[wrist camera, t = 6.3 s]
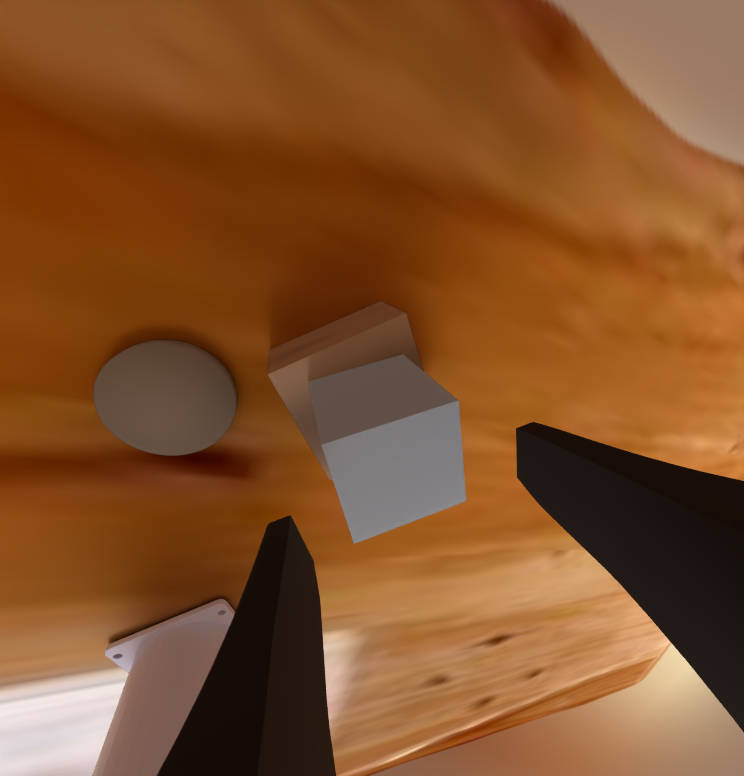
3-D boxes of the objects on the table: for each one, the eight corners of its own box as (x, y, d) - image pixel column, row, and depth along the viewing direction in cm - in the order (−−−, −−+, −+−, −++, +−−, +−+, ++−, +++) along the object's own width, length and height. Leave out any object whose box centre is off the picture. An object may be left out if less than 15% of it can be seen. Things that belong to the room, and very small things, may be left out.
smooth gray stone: (255, 422, 18) (253, 433, 17) (147, 457, 17) (138, 470, 16) (208, 323, 15) (202, 328, 14) (78, 358, 14) (61, 367, 13)
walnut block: (412, 395, 20) (440, 426, 16) (320, 438, 19) (329, 480, 16) (379, 300, 17) (405, 312, 13) (270, 348, 16) (267, 374, 13)
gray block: (415, 433, 16) (466, 501, 12) (332, 460, 15) (354, 543, 11) (402, 354, 14) (458, 400, 10) (307, 381, 13) (321, 444, 9)
